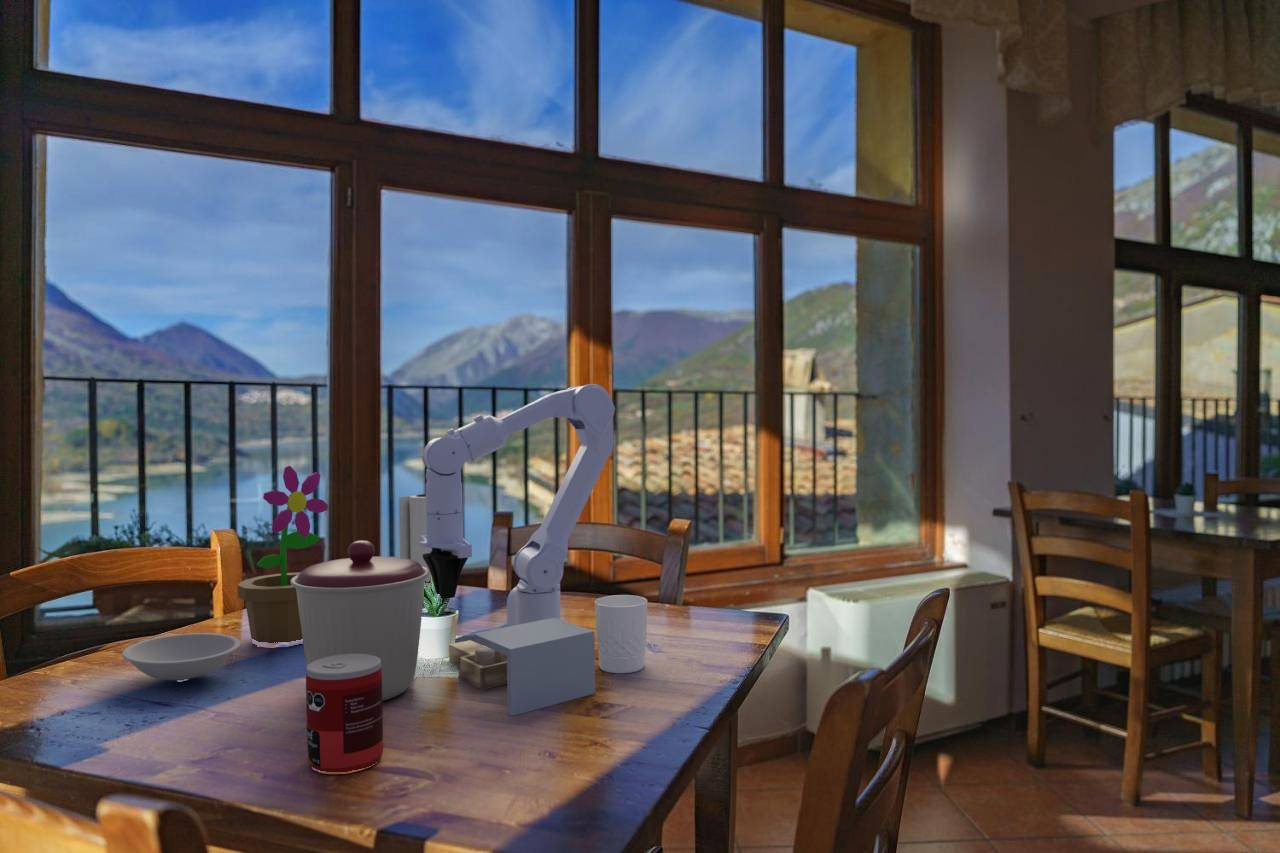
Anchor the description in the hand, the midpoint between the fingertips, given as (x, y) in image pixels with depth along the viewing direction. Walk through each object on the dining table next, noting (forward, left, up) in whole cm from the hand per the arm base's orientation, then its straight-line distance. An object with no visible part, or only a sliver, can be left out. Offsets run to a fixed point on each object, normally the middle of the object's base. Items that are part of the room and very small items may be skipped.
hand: (446, 597), depth 135 cm
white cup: (+25, +16, -9) cm, 31 cm away
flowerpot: (-25, -18, -9) cm, 32 cm away
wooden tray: (+12, 0, -9) cm, 15 cm away
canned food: (+32, -28, -9) cm, 43 cm away
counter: (+27, 0, -9) cm, 28 cm away
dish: (-12, -36, -9) cm, 39 cm away
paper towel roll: (-40, +14, -9) cm, 44 cm away
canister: (+11, -18, -9) cm, 22 cm away
